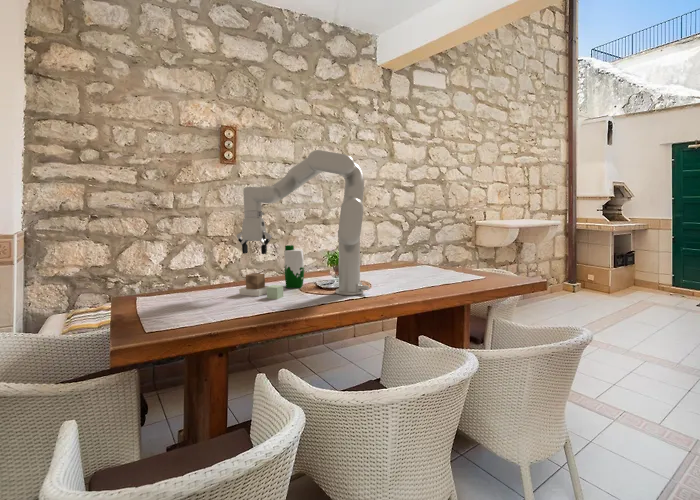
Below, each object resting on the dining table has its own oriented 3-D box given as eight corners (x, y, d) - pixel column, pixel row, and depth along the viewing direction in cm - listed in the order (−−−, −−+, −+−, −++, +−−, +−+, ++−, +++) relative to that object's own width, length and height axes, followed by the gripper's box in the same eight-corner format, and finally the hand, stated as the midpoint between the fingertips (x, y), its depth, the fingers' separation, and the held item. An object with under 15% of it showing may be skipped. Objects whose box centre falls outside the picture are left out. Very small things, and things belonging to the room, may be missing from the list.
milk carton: (287, 284, 202) (286, 244, 200) (305, 284, 202) (304, 244, 200) (283, 288, 194) (282, 246, 191) (302, 288, 193) (302, 246, 191)
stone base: (270, 291, 186) (270, 286, 186) (259, 296, 177) (258, 290, 177) (252, 290, 190) (251, 284, 189) (239, 294, 180) (239, 289, 180)
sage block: (283, 296, 176) (283, 285, 175) (277, 299, 171) (277, 287, 171) (273, 296, 178) (272, 284, 177) (267, 298, 173) (266, 287, 172)
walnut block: (264, 286, 185) (264, 273, 184) (257, 289, 179) (257, 275, 179) (253, 285, 187) (253, 273, 186) (245, 288, 181) (245, 275, 181)
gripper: (274, 214, 180) (275, 253, 182) (241, 215, 186) (242, 252, 188) (265, 215, 173) (267, 255, 175) (231, 215, 179) (233, 254, 181)
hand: (254, 253), depth 181 cm, fingers open, 9 cm apart
